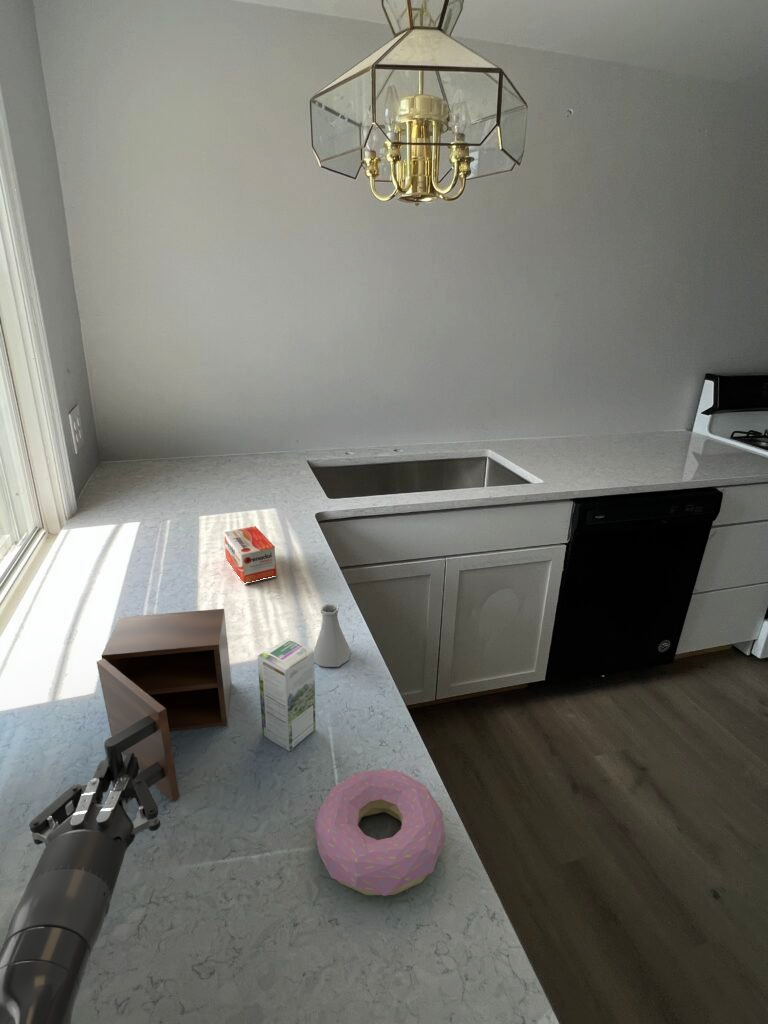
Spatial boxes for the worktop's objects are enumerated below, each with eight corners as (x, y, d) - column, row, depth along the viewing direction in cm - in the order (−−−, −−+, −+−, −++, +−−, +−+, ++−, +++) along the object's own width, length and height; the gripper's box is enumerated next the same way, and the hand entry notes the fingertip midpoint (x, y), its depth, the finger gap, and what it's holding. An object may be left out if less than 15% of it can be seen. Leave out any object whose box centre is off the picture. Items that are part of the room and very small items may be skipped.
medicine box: (225, 560, 137) (222, 530, 134) (257, 554, 141) (255, 524, 138) (243, 586, 125) (241, 554, 122) (278, 578, 129) (276, 547, 126)
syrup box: (289, 714, 87) (284, 635, 82) (317, 730, 84) (314, 649, 78) (262, 736, 82) (255, 653, 77) (290, 754, 79) (285, 669, 74)
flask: (340, 672, 97) (340, 622, 93) (303, 663, 99) (301, 614, 96) (356, 649, 103) (356, 602, 100) (321, 641, 106) (320, 595, 102)
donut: (470, 857, 65) (473, 826, 63) (361, 937, 57) (361, 903, 55) (392, 771, 77) (393, 742, 75) (292, 826, 68) (290, 796, 67)
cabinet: (227, 726, 84) (218, 644, 79) (117, 739, 81) (101, 655, 76) (231, 684, 93) (224, 608, 88) (133, 694, 91) (119, 617, 85)
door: (129, 833, 67) (110, 740, 62) (71, 768, 76) (50, 682, 71) (179, 797, 72) (166, 708, 67) (119, 740, 81) (103, 657, 76)
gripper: (138, 862, 51) (176, 729, 67) (-24, 882, 49) (55, 740, 66) (149, 917, 54) (184, 776, 70) (-4, 939, 52) (67, 789, 68)
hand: (121, 759), depth 68 cm, fingers closed on door
